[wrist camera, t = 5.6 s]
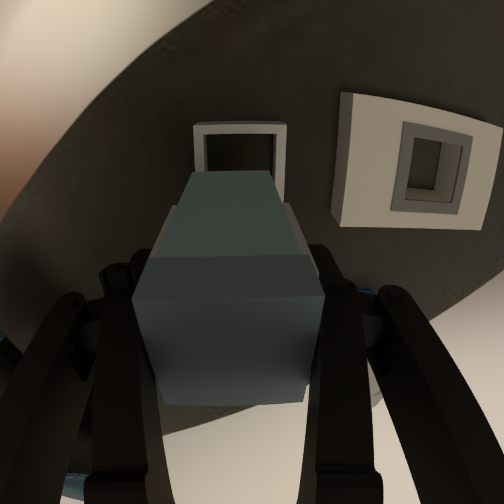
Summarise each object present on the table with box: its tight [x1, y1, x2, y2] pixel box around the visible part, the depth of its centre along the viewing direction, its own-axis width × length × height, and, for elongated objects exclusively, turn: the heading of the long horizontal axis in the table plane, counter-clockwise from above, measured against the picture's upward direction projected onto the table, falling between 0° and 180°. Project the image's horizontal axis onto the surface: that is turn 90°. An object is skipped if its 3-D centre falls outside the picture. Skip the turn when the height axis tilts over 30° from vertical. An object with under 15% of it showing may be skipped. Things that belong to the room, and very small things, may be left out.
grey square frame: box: [193, 121, 287, 203], centre depth 27 cm, size 8×8×2 cm
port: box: [330, 92, 503, 230], centre depth 26 cm, size 18×12×4 cm, turn 90°
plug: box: [132, 171, 325, 406], centre depth 14 cm, size 5×5×12 cm
